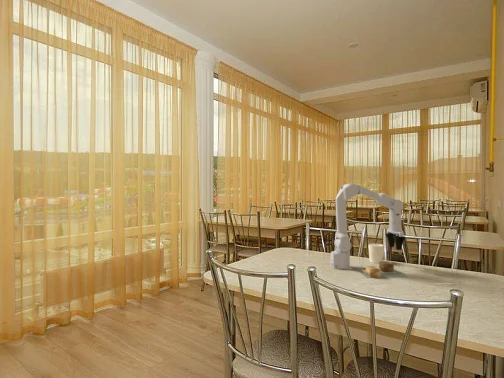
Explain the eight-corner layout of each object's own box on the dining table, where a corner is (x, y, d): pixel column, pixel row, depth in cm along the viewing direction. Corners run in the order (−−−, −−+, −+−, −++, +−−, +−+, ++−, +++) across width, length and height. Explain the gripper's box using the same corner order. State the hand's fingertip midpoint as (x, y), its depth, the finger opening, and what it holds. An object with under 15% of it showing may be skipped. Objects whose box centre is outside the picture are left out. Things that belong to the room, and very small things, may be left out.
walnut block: (383, 272, 158) (383, 264, 158) (379, 269, 163) (379, 261, 163) (393, 272, 158) (393, 264, 158) (388, 269, 163) (388, 261, 163)
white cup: (381, 261, 183) (381, 243, 183) (385, 264, 175) (385, 246, 175) (366, 261, 184) (366, 243, 184) (370, 264, 176) (370, 246, 176)
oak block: (369, 277, 150) (369, 268, 150) (365, 274, 155) (365, 266, 155) (380, 277, 150) (380, 268, 150) (376, 274, 155) (376, 266, 155)
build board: (367, 279, 149) (367, 278, 149) (355, 270, 164) (355, 269, 164) (410, 278, 149) (410, 277, 149) (394, 270, 164) (394, 268, 164)
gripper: (409, 223, 162) (409, 251, 163) (396, 220, 177) (396, 245, 177) (395, 224, 162) (395, 251, 162) (383, 220, 177) (383, 245, 177)
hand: (395, 248), depth 170 cm, fingers open, 7 cm apart
